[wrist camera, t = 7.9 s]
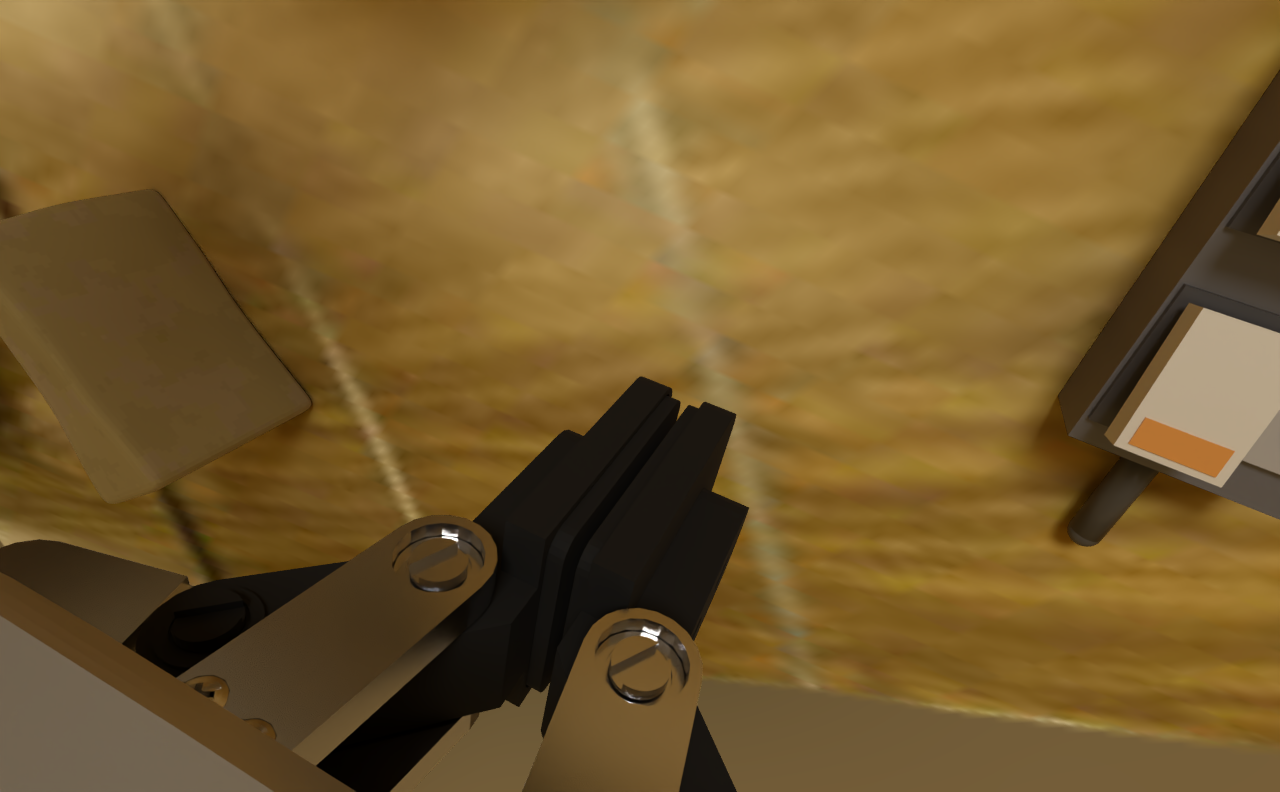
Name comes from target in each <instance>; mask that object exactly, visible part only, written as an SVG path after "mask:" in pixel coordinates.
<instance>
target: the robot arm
mask: <svg viewBox="0 0 1280 792" xmlns="http://www.w3.org/2000/svg"><path fill="white" fill-rule="evenodd" d="M671 397H672V388H670V387H667V386H665V385H662V384H660V383H657V382H655V381H652V380H650V379H647V378H645V377H639V378H638V379H637V380H636V381H635V382H634V383H633V384H632V385H631V386H630V387H629V388H628V389H627V390H626V391H625V392H624V393H623V395H622V396H621V397H620V398H619V399H618V400H617V401H616V402H615V403H614V404H613V405H612V406H611V407H610V409H609V410H608V411H607V412H606V413H605V414H604V415H603V416H602V417H601V418H600V419H599V420H598V421H597V423H596V424H595V425H594V426H593V427H592V428H591V429H590V430H589V431H588V432H587V433H586V434H585V435H584V436H582V435H580V434H578V433H575V432H573V431H571V430H564V431H563V432H562V433H560V434H559V435H558V436H557V437H556V438H555V439H554V440H553V441H552V442H551V443H550V444H549V445H548V446H547V447H546V448H545V449H544V450H543V451H542V452H541V453H540V454H539V455H538V456H537V457H536V458H535V459H534V460H533V461H532V462H531V463H530V464H529V465H528V466H527V467H526V468H525V469H524V470H523V471H522V472H521V473H520V474H519V475H518V476H517V477H516V478H515V479H514V480H513V481H512V482H511V483H510V484H509V485H508V486H507V487H506V488H505V489H504V490H503V491H502V492H501V493H500V494H499V495H498V496H497V497H496V498H495V499H494V500H493V501H492V502H491V503H490V504H489V505H488V506H487V507H486V508H485V509H484V510H483V511H482V512H481V513H480V514H479V515H478V516H477V517H476V518H475V519H474V520H473V521H470V520H468V519H466V518H461V517H456V516H452V515H431V516H427V517H423V518H419V519H415V520H413V521H411V522H409V523H407V524H405V525H403V526H401V527H399V528H398V529H396V530H395V531H393V532H392V533H390V534H389V535H387V536H386V537H384V538H383V539H381V540H380V541H378V542H377V543H375V544H374V545H372V546H371V547H369V548H368V549H366V550H365V551H363V552H362V553H360V554H359V555H358V556H356V557H355V558H353V559H352V560H350V561H347V562H340V563H333V564H326V565H319V566H312V567H305V568H298V569H291V570H284V571H277V572H270V573H264V574H257V575H250V576H243V577H236V578H229V579H222V580H216V581H212V582H208V583H204V584H200V585H196V586H191V585H190V584H189V580H188V577H187V576H184V575H180V574H177V573H173V572H169V571H166V570H162V569H158V568H155V567H151V566H147V565H144V564H140V563H136V562H133V561H129V560H125V559H122V558H118V557H114V556H111V555H107V554H103V553H100V552H96V551H92V550H89V549H85V548H81V547H78V546H74V545H70V544H67V543H63V542H59V541H50V540H40V539H39V540H31V541H24V542H17V543H13V544H10V545H7V546H4V547H1V548H0V792H412V791H413V790H414V789H415V788H416V786H417V785H418V784H419V783H420V782H421V781H422V780H423V779H424V778H425V777H426V776H427V775H428V774H429V773H430V772H431V770H432V769H433V768H434V767H435V766H436V765H437V764H438V763H439V762H440V761H441V759H443V758H444V756H445V755H446V754H447V753H448V752H449V751H450V750H451V749H452V748H453V747H454V746H455V744H457V742H458V741H459V740H460V739H461V738H462V737H463V736H464V735H465V734H466V733H467V732H468V731H469V730H470V728H471V727H472V725H473V724H474V722H475V721H476V719H477V718H478V716H479V713H480V712H483V711H487V710H491V709H496V708H499V707H501V705H502V704H503V702H504V701H505V700H507V701H509V702H511V703H512V704H514V705H516V706H518V707H519V706H520V705H521V703H522V701H523V700H524V698H525V697H526V695H527V694H528V692H529V691H530V689H531V688H534V689H535V690H537V691H539V692H543V691H544V690H545V688H546V687H547V686H548V684H549V683H550V686H549V691H548V696H547V701H546V706H545V712H544V717H543V722H542V727H541V732H542V737H543V741H542V743H541V746H540V748H539V751H538V753H537V756H536V758H535V761H534V763H533V766H532V768H531V770H530V773H529V776H528V778H527V780H526V783H525V785H524V788H523V790H522V792H737V791H736V789H735V787H734V785H733V782H732V780H731V778H730V776H729V774H728V772H727V769H726V767H725V765H724V763H723V761H722V758H721V756H720V754H719V752H718V750H717V748H716V745H715V743H714V741H713V739H712V737H711V735H710V732H709V730H708V728H707V726H706V724H705V721H704V719H703V717H702V715H701V713H700V711H699V709H698V706H697V703H698V698H699V693H700V688H701V683H702V666H703V663H702V660H701V657H700V654H699V651H698V647H697V646H696V644H695V643H694V640H695V638H696V635H697V633H698V631H699V628H700V626H701V624H702V622H703V619H704V617H705V615H706V613H707V610H708V608H709V606H710V604H711V601H712V599H713V597H714V595H715V592H716V590H717V588H718V585H719V583H720V581H721V578H722V576H723V574H724V571H725V569H726V566H727V564H728V562H729V559H730V557H731V554H732V552H733V549H734V547H735V544H736V542H737V539H738V536H739V534H740V531H741V529H742V526H743V523H744V521H745V518H746V515H747V513H748V510H749V507H746V506H744V505H742V504H739V503H737V502H735V501H732V500H730V499H728V498H725V497H723V496H721V495H719V494H716V493H714V492H712V488H713V485H714V482H715V479H716V476H717V473H718V470H719V467H720V464H721V461H722V458H723V455H724V452H725V449H726V446H727V443H728V440H729V437H730V434H731V431H732V428H733V425H734V422H735V419H736V414H735V413H732V412H730V411H727V410H725V409H722V408H720V407H717V406H715V405H712V404H710V403H707V402H703V404H702V405H701V406H700V408H699V409H698V408H696V407H693V406H691V405H688V406H687V408H686V409H685V410H684V412H683V413H682V414H681V416H680V417H679V419H678V420H677V416H678V413H679V409H680V401H679V400H676V399H674V398H671ZM676 420H677V421H676Z"/></svg>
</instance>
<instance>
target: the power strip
mask: <svg viewBox="0 0 1280 792" xmlns="http://www.w3.org/2000/svg"><path fill="white" fill-rule="evenodd" d="M1279 199H1280V71H1279V72H1278V74H1277V75H1276V77H1275V78H1274V80H1273V81H1272V83H1271V84H1270V85H1269V87H1268V88H1267V90H1266V91H1265V93H1264V94H1263V96H1262V97H1261V99H1260V100H1259V102H1258V103H1257V105H1256V106H1255V107H1254V109H1253V110H1252V112H1251V113H1250V115H1249V116H1248V118H1247V119H1246V121H1245V122H1244V124H1243V125H1242V127H1241V128H1240V130H1239V131H1238V132H1237V134H1236V135H1235V137H1234V138H1233V140H1232V141H1231V143H1230V144H1229V146H1228V147H1227V149H1226V150H1225V152H1224V153H1223V154H1222V156H1221V157H1220V159H1219V160H1218V162H1217V163H1216V165H1215V166H1214V168H1213V169H1212V171H1211V172H1210V174H1209V175H1208V176H1207V178H1206V179H1205V181H1204V182H1203V184H1202V185H1201V187H1200V188H1199V190H1198V191H1197V193H1196V194H1195V196H1194V197H1193V198H1192V200H1191V201H1190V203H1189V204H1188V206H1187V207H1186V209H1185V210H1184V212H1183V213H1182V215H1181V216H1180V218H1179V219H1178V220H1177V222H1176V223H1175V225H1174V226H1173V228H1172V229H1171V231H1170V232H1169V234H1168V235H1167V237H1166V238H1165V240H1164V241H1163V242H1162V244H1161V245H1160V247H1159V248H1158V250H1157V251H1156V253H1155V254H1154V256H1153V257H1152V259H1151V260H1150V262H1149V263H1148V264H1147V266H1146V267H1145V269H1144V270H1143V272H1142V273H1141V275H1140V276H1139V278H1138V279H1137V281H1136V282H1135V284H1134V285H1133V286H1132V288H1131V289H1130V291H1129V292H1128V294H1127V295H1126V297H1125V298H1124V300H1123V301H1122V303H1121V304H1120V306H1119V307H1118V309H1117V310H1116V311H1115V313H1114V314H1113V316H1112V317H1111V319H1110V320H1109V322H1108V323H1107V325H1106V326H1105V328H1104V329H1103V331H1102V332H1101V333H1100V335H1099V336H1098V338H1097V339H1096V341H1095V342H1094V344H1093V345H1092V347H1091V348H1090V350H1089V351H1088V353H1087V354H1086V355H1085V357H1084V358H1083V360H1082V361H1081V363H1080V364H1079V366H1078V367H1077V369H1076V370H1075V372H1074V373H1073V375H1072V376H1071V377H1070V379H1069V380H1068V382H1067V383H1066V385H1065V386H1064V388H1063V389H1062V391H1061V392H1060V394H1059V395H1058V397H1059V401H1060V405H1061V409H1062V413H1063V417H1064V422H1065V426H1066V430H1067V434H1068V436H1070V437H1073V438H1075V439H1078V440H1081V441H1083V442H1086V443H1088V444H1091V445H1093V446H1096V447H1098V448H1101V449H1103V450H1106V451H1108V452H1111V453H1113V454H1116V455H1118V456H1121V458H1120V459H1119V460H1118V462H1117V463H1116V464H1115V466H1114V467H1113V468H1112V469H1111V471H1110V472H1109V473H1108V474H1107V476H1106V477H1105V478H1104V479H1103V481H1102V482H1101V483H1100V484H1099V486H1098V487H1097V488H1096V490H1095V491H1094V492H1093V493H1092V495H1091V496H1090V497H1089V498H1088V500H1087V501H1086V502H1085V503H1084V505H1083V506H1082V507H1081V509H1080V510H1079V511H1078V512H1077V514H1076V515H1075V516H1074V517H1073V519H1072V520H1071V521H1070V523H1069V524H1068V535H1069V537H1070V538H1071V540H1072V541H1074V542H1075V543H1076V544H1078V545H1081V546H1086V547H1088V546H1094V545H1096V544H1098V543H1099V542H1100V541H1101V540H1102V539H1103V538H1104V536H1105V535H1106V534H1107V533H1108V532H1109V530H1110V529H1111V528H1112V527H1113V526H1114V525H1115V523H1116V522H1117V521H1118V520H1119V519H1120V517H1121V516H1122V515H1123V514H1124V513H1125V511H1126V510H1127V509H1128V508H1129V507H1130V506H1131V504H1132V503H1133V502H1134V501H1135V500H1136V498H1137V497H1138V496H1139V495H1140V494H1141V492H1142V491H1143V490H1144V489H1145V488H1146V487H1147V485H1148V484H1149V483H1150V482H1151V481H1152V479H1153V478H1154V477H1155V476H1156V475H1157V474H1158V472H1161V473H1164V474H1166V475H1169V476H1171V477H1174V478H1176V479H1179V480H1181V481H1184V482H1186V483H1189V484H1192V485H1194V486H1197V487H1199V488H1202V489H1204V490H1207V491H1209V492H1212V493H1214V494H1217V495H1219V496H1222V497H1224V498H1227V499H1229V500H1232V501H1234V502H1237V503H1239V504H1242V505H1244V506H1247V507H1250V508H1252V509H1255V510H1257V511H1260V512H1262V513H1265V514H1267V515H1270V516H1272V517H1275V518H1277V519H1280V410H1279V411H1278V413H1277V414H1276V415H1275V417H1274V418H1273V419H1272V421H1271V422H1270V423H1269V425H1268V426H1267V427H1266V429H1265V430H1264V431H1263V433H1262V434H1261V435H1260V437H1259V438H1258V439H1257V441H1256V442H1255V443H1254V445H1253V446H1252V447H1251V449H1250V450H1249V452H1248V453H1247V454H1246V456H1245V457H1244V458H1243V460H1242V461H1241V462H1240V464H1239V465H1238V466H1237V468H1236V469H1235V470H1234V472H1233V473H1232V474H1231V476H1230V477H1229V478H1228V480H1227V481H1226V482H1225V484H1224V485H1223V486H1222V488H1221V487H1218V486H1216V485H1213V484H1211V483H1208V482H1205V481H1203V480H1200V479H1198V478H1195V477H1193V476H1190V475H1188V474H1185V473H1183V472H1180V471H1178V470H1175V469H1172V468H1170V467H1167V466H1165V465H1162V464H1160V463H1157V462H1155V461H1152V460H1150V459H1147V458H1144V457H1142V456H1139V455H1137V454H1134V453H1132V452H1129V451H1127V450H1124V449H1122V448H1119V447H1117V446H1114V445H1113V444H1112V443H1111V442H1110V441H1109V440H1108V438H1107V437H1106V436H1105V435H1104V434H1105V433H1106V431H1107V430H1108V428H1109V426H1110V425H1111V423H1112V422H1113V420H1114V419H1115V417H1116V416H1117V414H1118V412H1119V411H1120V409H1121V408H1122V406H1123V405H1124V403H1125V402H1126V400H1127V399H1128V397H1129V395H1130V394H1131V392H1132V391H1133V389H1134V388H1135V386H1136V385H1137V383H1138V381H1139V380H1140V378H1141V377H1142V375H1143V374H1144V372H1145V371H1146V369H1147V367H1148V366H1149V364H1150V363H1151V361H1152V360H1153V358H1154V357H1155V355H1156V353H1157V352H1158V350H1159V349H1160V347H1161V346H1162V344H1163V343H1164V341H1165V339H1166V338H1167V336H1168V335H1169V333H1170V332H1171V330H1172V329H1173V327H1174V325H1175V324H1176V322H1177V321H1178V319H1179V318H1180V316H1181V315H1182V313H1183V312H1184V310H1185V308H1186V307H1187V305H1188V304H1189V303H1191V304H1194V305H1197V306H1200V307H1203V308H1206V309H1209V310H1212V311H1215V312H1218V313H1221V314H1224V315H1227V316H1230V317H1233V318H1236V319H1239V320H1242V321H1245V322H1248V323H1251V324H1254V325H1257V326H1260V327H1263V328H1266V329H1269V330H1272V331H1275V332H1278V333H1280V241H1276V240H1273V239H1270V238H1267V237H1263V236H1260V235H1257V233H1258V231H1259V230H1260V228H1261V227H1262V225H1263V223H1264V222H1265V220H1266V219H1267V217H1268V216H1269V214H1270V213H1271V211H1272V210H1273V208H1274V206H1275V205H1276V203H1277V202H1278V200H1279Z"/></svg>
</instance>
